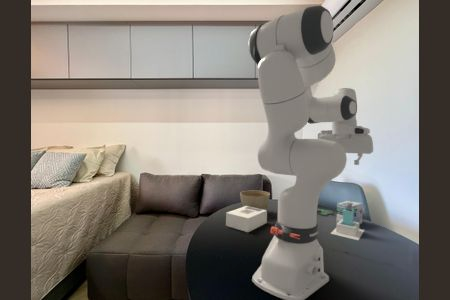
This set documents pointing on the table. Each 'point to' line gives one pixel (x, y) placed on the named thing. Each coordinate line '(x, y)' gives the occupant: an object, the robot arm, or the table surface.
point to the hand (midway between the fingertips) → (343, 163)
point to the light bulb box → (356, 209)
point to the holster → (348, 230)
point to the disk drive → (324, 212)
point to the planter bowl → (255, 199)
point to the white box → (246, 218)
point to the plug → (348, 215)
